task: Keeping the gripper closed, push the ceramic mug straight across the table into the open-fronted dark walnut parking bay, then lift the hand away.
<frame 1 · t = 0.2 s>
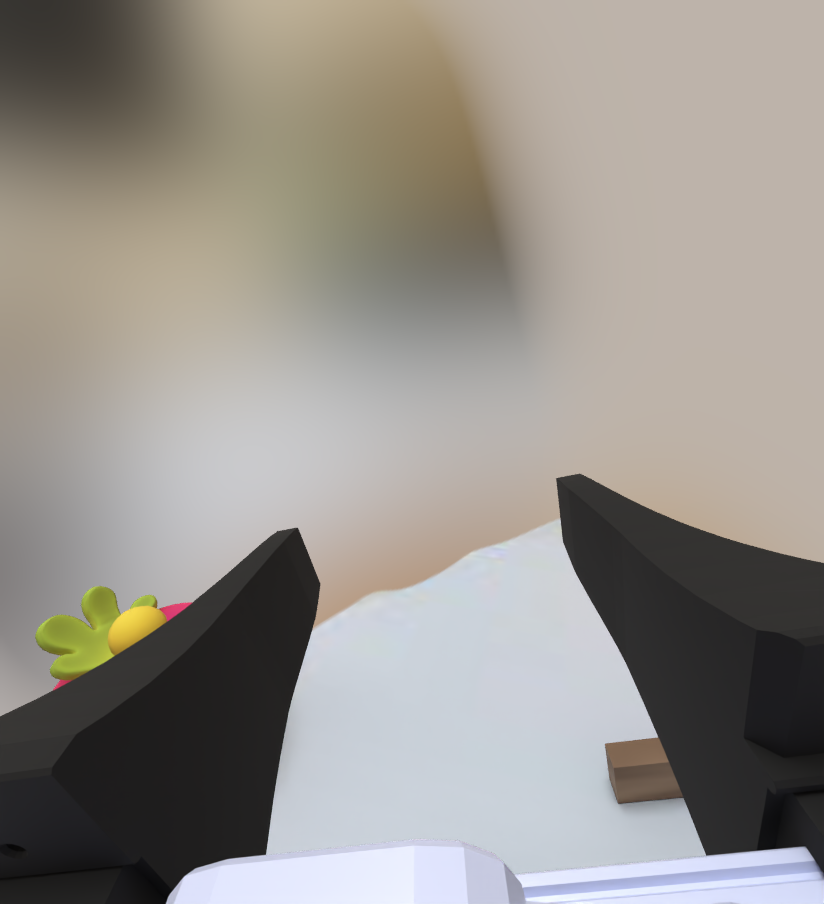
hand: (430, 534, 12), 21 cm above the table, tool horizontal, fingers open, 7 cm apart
cake: (210, 770, 31), on the table
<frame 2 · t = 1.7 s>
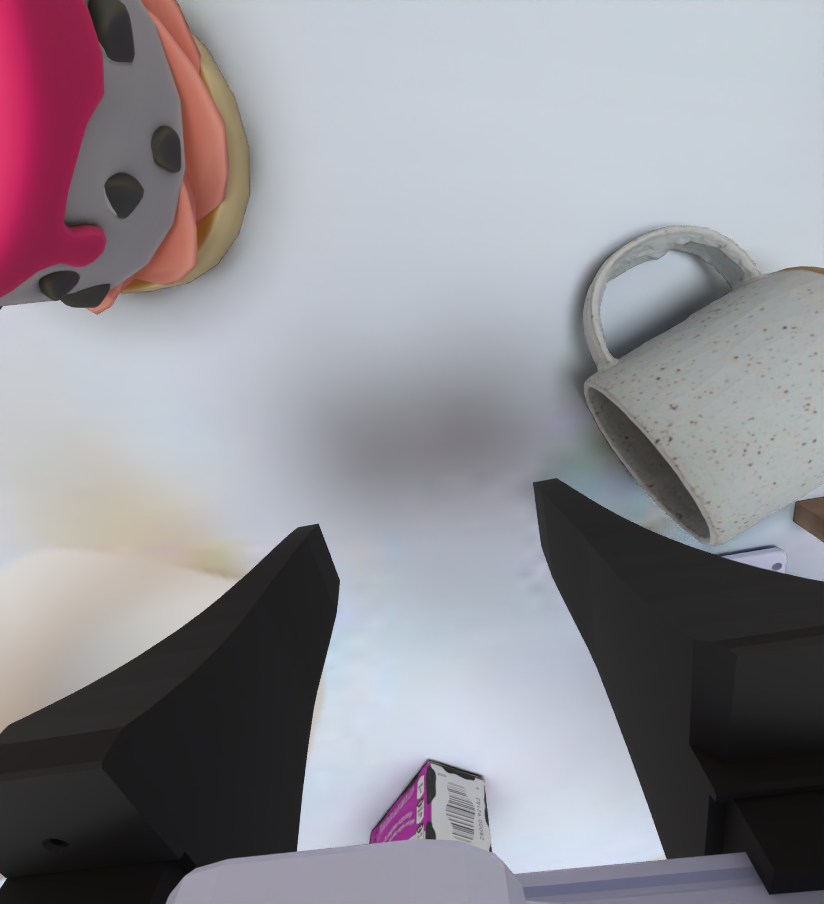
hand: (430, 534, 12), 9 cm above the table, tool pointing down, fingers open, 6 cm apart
ceramic mug: (658, 359, 19), on the table
cake: (124, 153, 16), on the table
candy bar box: (422, 802, 33), on the table
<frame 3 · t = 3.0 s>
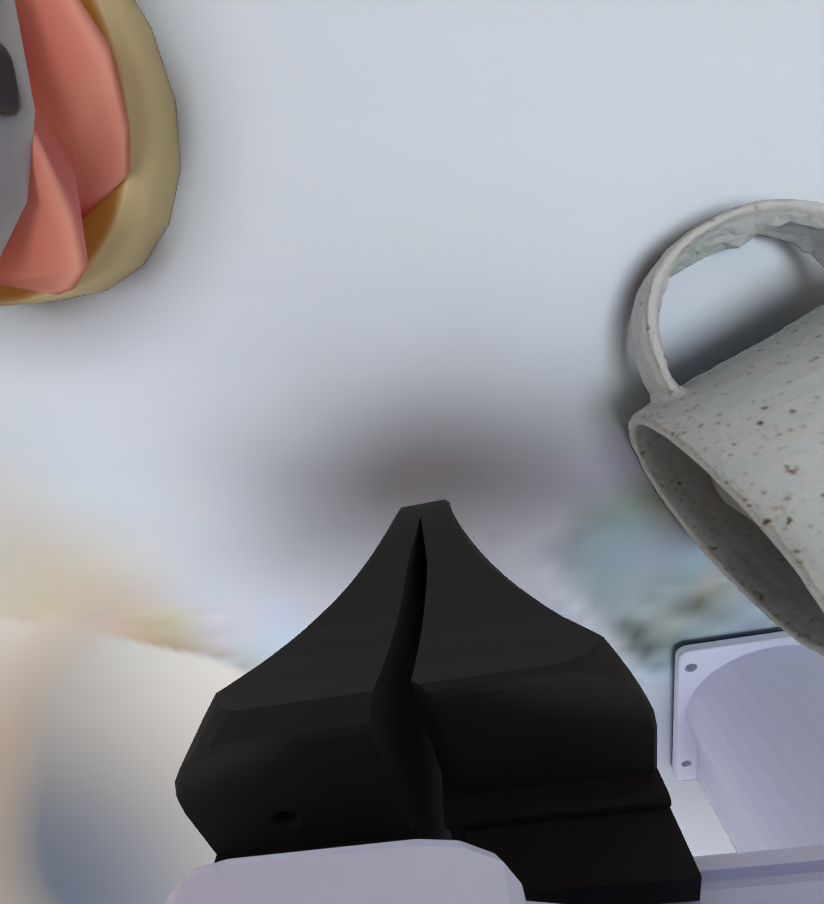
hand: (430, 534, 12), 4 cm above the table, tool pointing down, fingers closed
ceramic mug: (724, 382, 15), on the table
cake: (5, 111, 12), on the table
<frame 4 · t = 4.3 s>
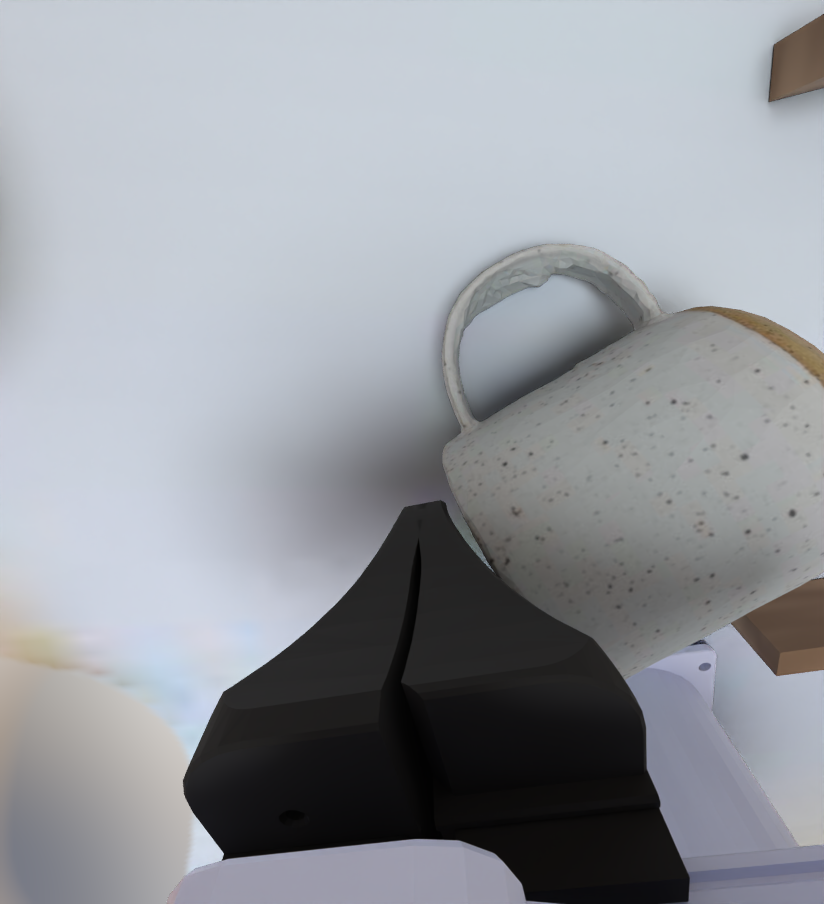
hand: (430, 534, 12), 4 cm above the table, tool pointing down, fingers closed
ceramic mug: (557, 411, 15), on the table, touching gripper
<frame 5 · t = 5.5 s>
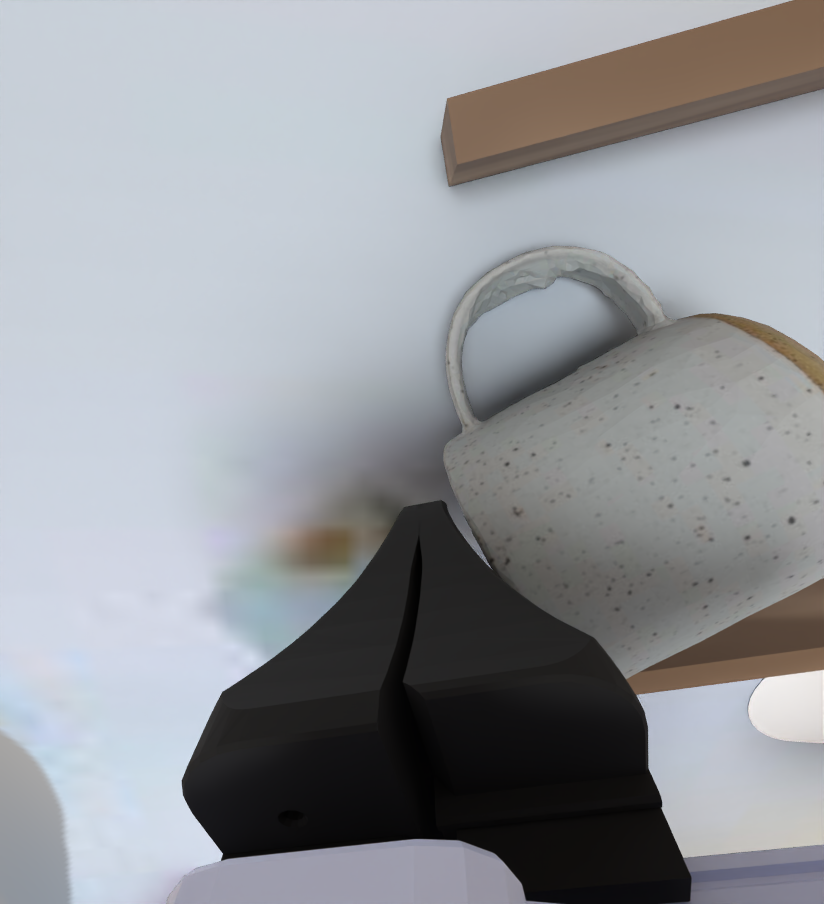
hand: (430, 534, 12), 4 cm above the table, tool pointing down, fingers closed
parking bay: (723, 407, 15), on the table
champagne flute: (818, 693, 21), on the table
ceramic mug: (558, 414, 15), on the table, touching gripper
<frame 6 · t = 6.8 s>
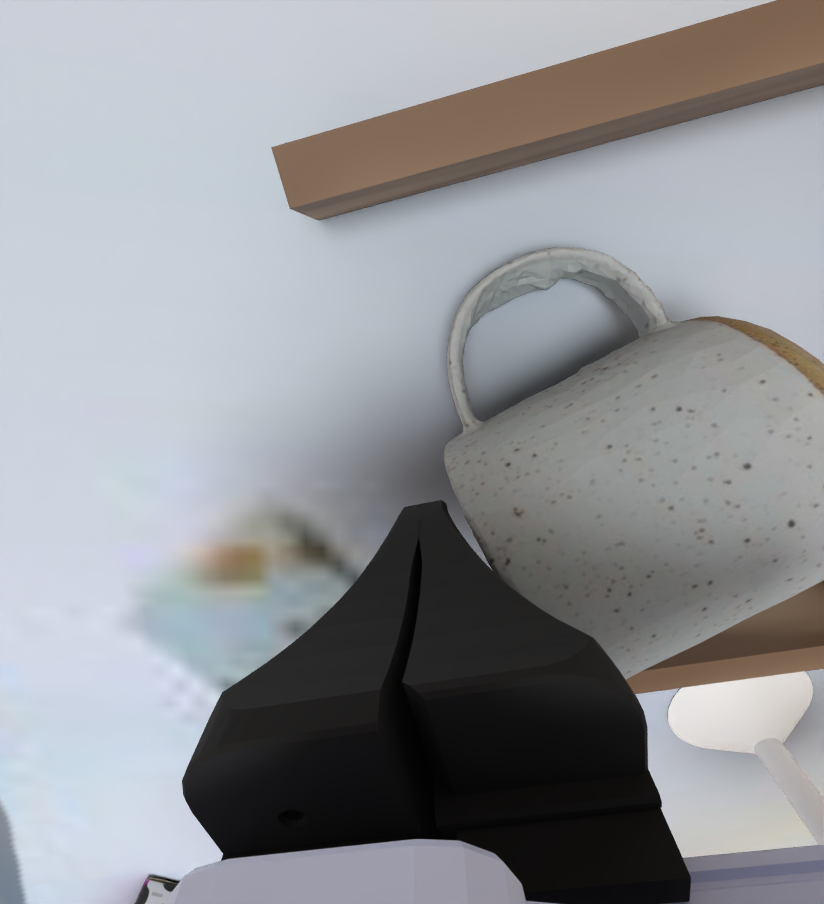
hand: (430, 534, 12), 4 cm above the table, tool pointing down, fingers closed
parking bay: (608, 428, 15), on the table
champagne flute: (736, 702, 21), on the table
ceramic mug: (558, 415, 15), on the table, touching gripper
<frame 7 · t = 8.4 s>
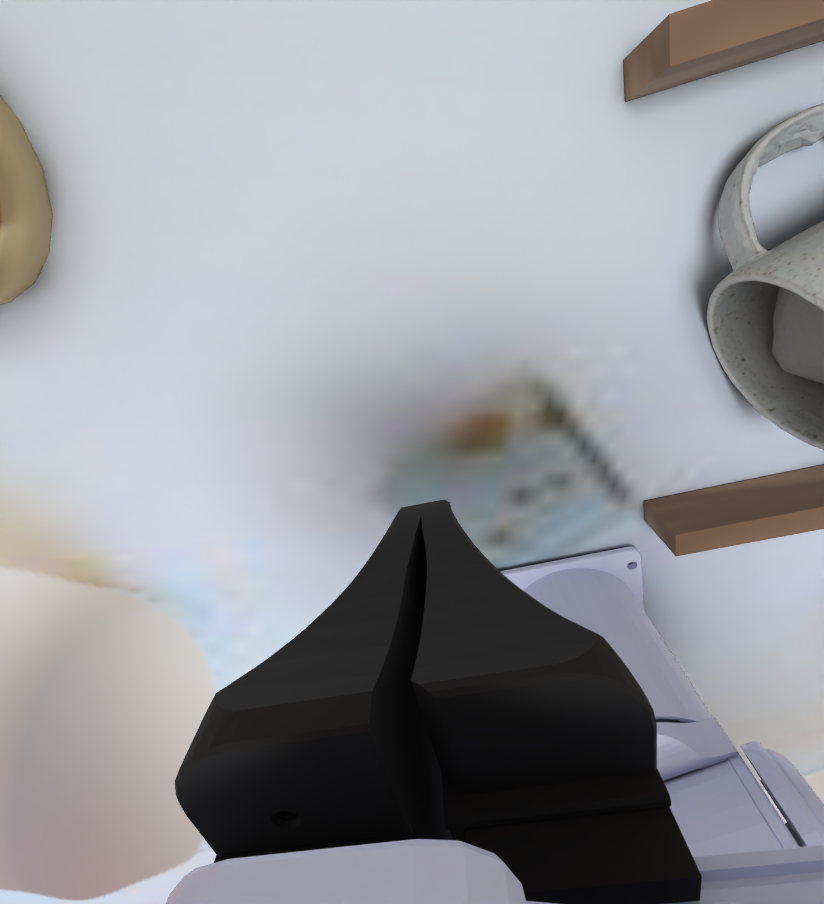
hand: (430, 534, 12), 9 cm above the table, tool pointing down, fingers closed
ceramic mug: (785, 271, 18), on the table
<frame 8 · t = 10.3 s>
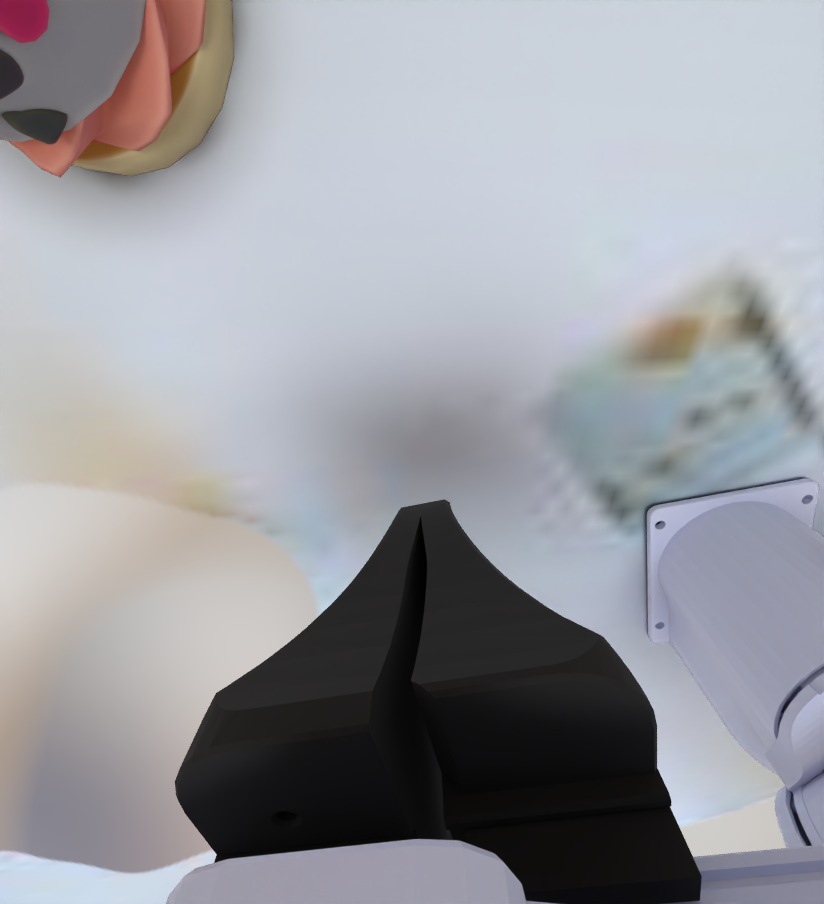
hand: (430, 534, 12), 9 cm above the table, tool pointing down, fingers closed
cake: (93, 9, 15), on the table
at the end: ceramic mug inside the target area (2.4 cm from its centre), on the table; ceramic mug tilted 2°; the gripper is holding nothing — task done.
